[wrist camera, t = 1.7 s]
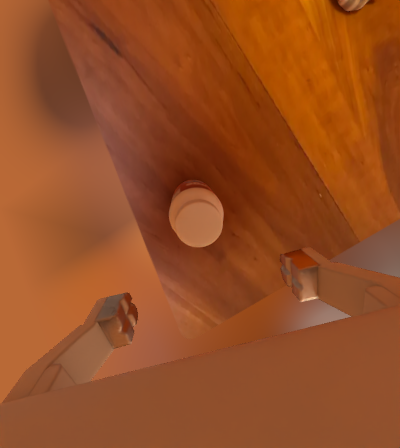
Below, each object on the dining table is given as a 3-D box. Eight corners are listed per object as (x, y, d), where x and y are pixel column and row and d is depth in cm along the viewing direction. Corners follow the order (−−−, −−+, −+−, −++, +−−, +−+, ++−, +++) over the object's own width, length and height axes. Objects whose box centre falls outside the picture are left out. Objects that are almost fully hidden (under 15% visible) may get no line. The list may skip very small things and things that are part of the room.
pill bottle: (220, 191, 28) (243, 212, 18) (201, 225, 30) (212, 263, 20) (183, 171, 27) (184, 182, 16) (165, 208, 28) (156, 239, 18)
